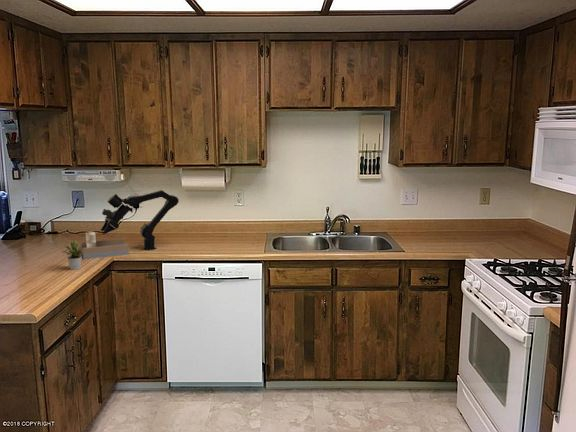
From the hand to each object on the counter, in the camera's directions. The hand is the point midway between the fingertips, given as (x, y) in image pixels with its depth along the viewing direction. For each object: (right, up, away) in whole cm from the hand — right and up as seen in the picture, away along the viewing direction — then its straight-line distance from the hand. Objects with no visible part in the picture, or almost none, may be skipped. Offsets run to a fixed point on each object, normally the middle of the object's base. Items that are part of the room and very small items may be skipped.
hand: (102, 232), depth 293 cm
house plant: (-4, -19, -29) cm, 35 cm away
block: (-6, -10, -1) cm, 12 cm away
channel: (+1, -13, +3) cm, 13 cm away
